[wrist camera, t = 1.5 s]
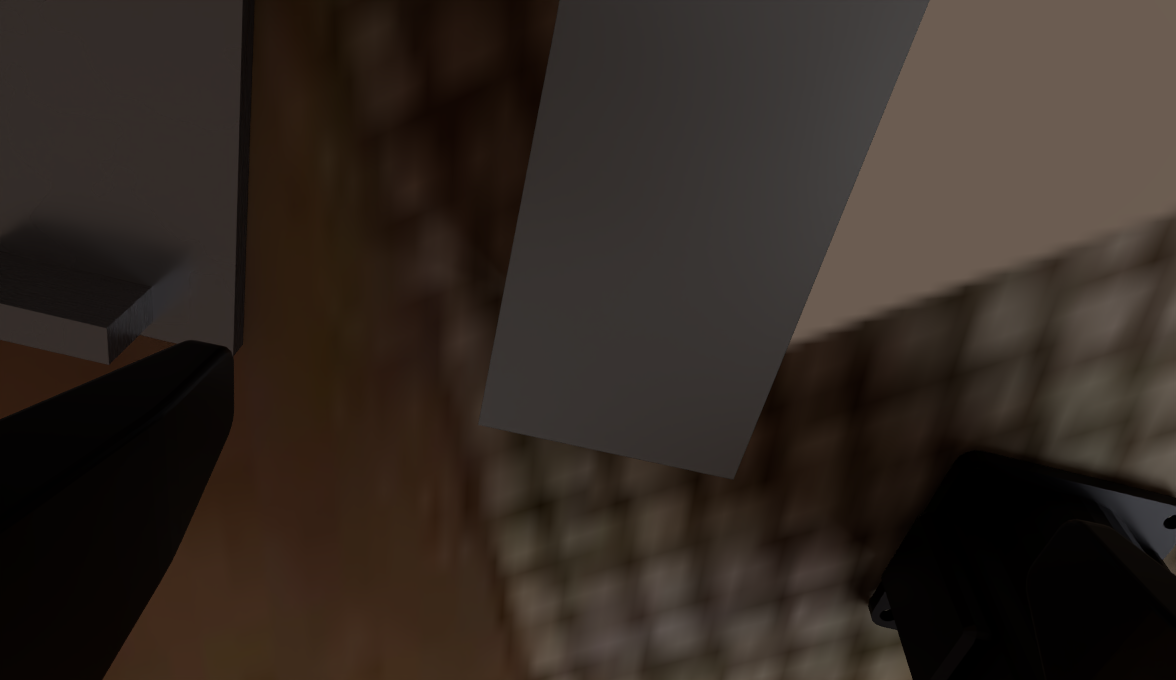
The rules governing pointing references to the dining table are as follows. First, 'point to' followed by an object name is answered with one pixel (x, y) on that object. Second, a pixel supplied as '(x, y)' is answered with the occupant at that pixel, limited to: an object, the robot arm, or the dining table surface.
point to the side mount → (123, 172)
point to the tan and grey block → (682, 214)
